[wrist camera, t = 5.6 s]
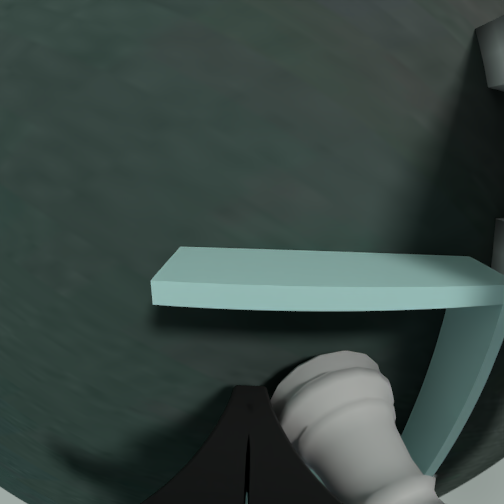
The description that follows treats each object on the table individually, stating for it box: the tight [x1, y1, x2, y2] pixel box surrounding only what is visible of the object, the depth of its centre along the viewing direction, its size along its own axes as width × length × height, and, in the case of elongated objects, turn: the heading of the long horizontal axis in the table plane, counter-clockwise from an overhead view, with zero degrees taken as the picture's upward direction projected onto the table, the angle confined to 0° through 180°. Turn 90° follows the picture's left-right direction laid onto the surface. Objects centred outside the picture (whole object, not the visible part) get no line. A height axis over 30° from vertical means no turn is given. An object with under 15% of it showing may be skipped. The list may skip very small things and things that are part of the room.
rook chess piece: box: [270, 351, 444, 504], centre depth 7 cm, size 4×4×8 cm
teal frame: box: [151, 247, 504, 504], centre depth 10 cm, size 10×11×3 cm
